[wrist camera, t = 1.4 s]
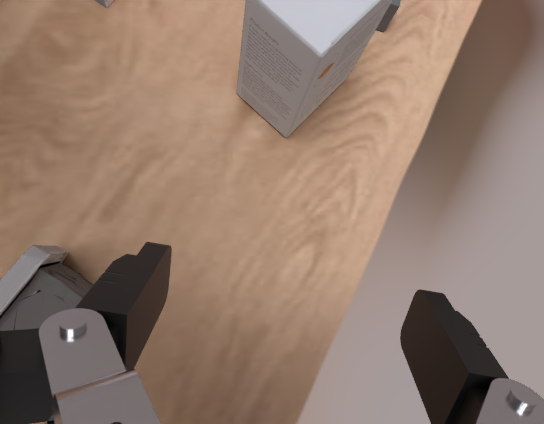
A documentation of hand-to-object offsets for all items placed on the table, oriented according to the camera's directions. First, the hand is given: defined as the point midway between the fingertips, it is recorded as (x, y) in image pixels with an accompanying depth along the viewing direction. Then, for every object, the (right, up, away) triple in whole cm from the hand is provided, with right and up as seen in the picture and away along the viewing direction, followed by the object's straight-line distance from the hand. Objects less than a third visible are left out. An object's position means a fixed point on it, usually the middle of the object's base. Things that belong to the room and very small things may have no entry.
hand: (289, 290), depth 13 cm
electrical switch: (-15, -5, +12) cm, 20 cm away
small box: (+1, +13, +19) cm, 23 cm away
